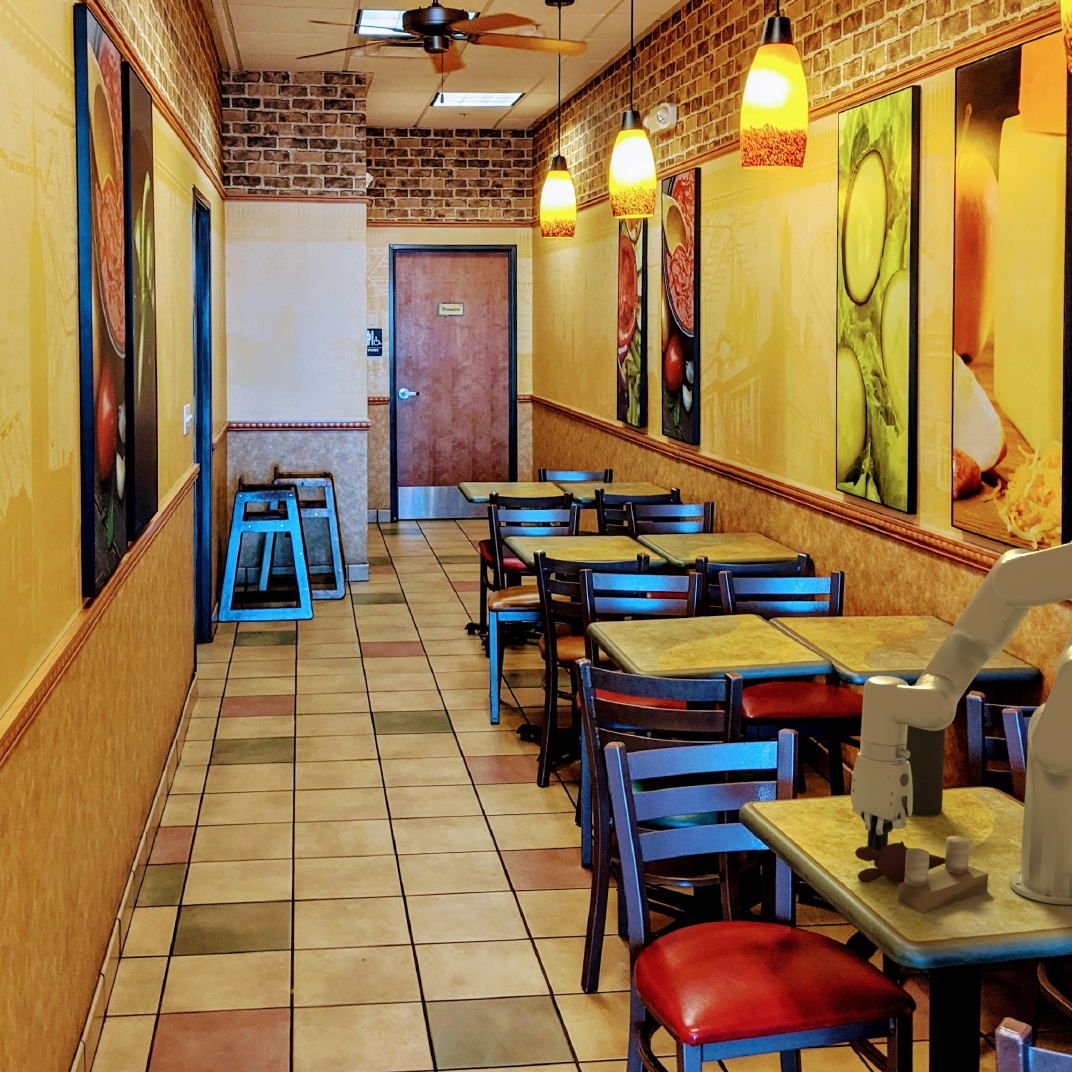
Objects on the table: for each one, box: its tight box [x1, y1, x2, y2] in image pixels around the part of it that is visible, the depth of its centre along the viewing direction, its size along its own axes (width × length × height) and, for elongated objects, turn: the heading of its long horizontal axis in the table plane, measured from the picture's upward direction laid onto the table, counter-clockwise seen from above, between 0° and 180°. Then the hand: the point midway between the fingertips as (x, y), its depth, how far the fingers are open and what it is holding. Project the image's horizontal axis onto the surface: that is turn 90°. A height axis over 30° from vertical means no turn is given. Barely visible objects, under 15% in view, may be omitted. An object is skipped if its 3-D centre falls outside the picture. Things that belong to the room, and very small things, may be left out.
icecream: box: [854, 840, 945, 884], centre depth 217 cm, size 7×7×15 cm
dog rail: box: [897, 835, 989, 914], centre depth 211 cm, size 6×16×8 cm, turn 124°
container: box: [906, 725, 946, 817], centre depth 252 cm, size 9×9×20 cm
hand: (877, 853), depth 223 cm, fingers closed
